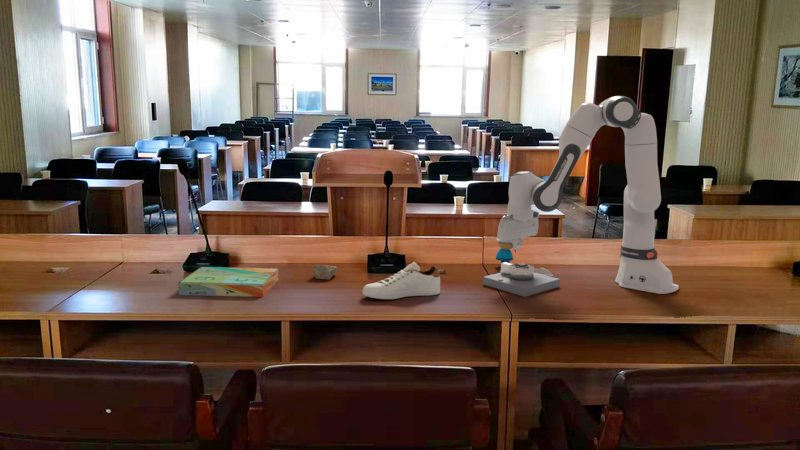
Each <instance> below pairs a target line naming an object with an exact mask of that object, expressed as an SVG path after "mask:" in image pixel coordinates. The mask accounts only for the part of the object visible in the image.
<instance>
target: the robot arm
mask: <svg viewBox="0 0 800 450" xmlns="http://www.w3.org/2000/svg"><path fill="white" fill-rule="evenodd" d="M603 126H607V127H612V128H621V129H622V131H623V134H624V160H625V162H624V163H625V164H624V165H625V172H626V179H627V180H626V181H627V185H626V186H625V188H624V190H623V231H622V243H621V244H622V245H620V252H619V253H620V261H619V262H620V263H619V267H618V271H617V274H616V277H615V279H614V281H615V282H616V283H617V284H618V285H619V287H622V288H625V289H626V288H627V289H631V290H636V291H641V292H642V291H643V292H647V293H654V294H658V295H661V294H662V295H663V294H664V295H666V294H671V293H674V292H677V291H678V290H679V289H680V288H679V285H678V284H675V283H674V282H673V273H672V270H670V269H669V268H668V267H667V266H666V265H665V264H664V263H663V262H661V260H660V259H658V255H660V252H661V251H660V250H658V251H657V250H656V249H655V245H654V244H655V235H656V223H655V222H656V221H655V211H656V210H657V209H658V208H659V207H660V205H661V202H662V195H661V183H660V182H661V181H660V175H659V174H660V172H659V166H658V137H657V127H656V122H655V118H654V117H653V116H652V114H648V113H647V112H646V113H645V112H641V111H640V109H639V108H638V106H637V104H636V102H634V100H633V99H632V98H630V97H628V96H625V95H615V96H611V97H608V98H606V99H604V100H602V101H601V102H600V103H598V104H595V103H591V102H583V103H581V104H579V106H578V107H577V108H576V109H575V111H573V113H572V115H571V116H570V118H569V119H568V121H567V122H566V124H565V126H564V128H563V129H562V132H561V134H560V137H559V140H558V150H559V151H558V158H557V161H556V163H555V165H554V167H553V169H552V171H551V172H550V175H549V176H548V178H547V179H543V178H541V177H539V176H536V175H535V174H533V172H532V171H529V170H525V171H523V170H522V171H516V172H514V173H513V174H512V175H511V177H510V180H509V184H508V185H509V186H508V203H507V212H506V215H503V216H502V217H501V218H500V220H499V223H498V227H497V234H496V235H497V238H498V239H499V240H503V241H506V240H511V242H512V244H513V248H512V250H514V251H515V250H516V251H517V250H521V249H522V244H523V242H524V240H525V239H524V238H528V237H534V236H537V234H538V232H539V217H540V212H539V211H537V210H534V209H532V205H534V206H535V208H537V209H538V210H540V211H541V212H547V213H550V212H553V211H554V210H557V208H559V206H560V205H561V203H562V200H563V192H564V187H565V186H566V183H567V181H569V180H568V179H569V178H570V175H571V173H572V172H573V170H574V169H575V166H576V164H577V163H578V162H579V160H580V158H581V157H582V156H583V155H584V153H585V151H586V150H587V149H588V147H590V146H589V145H590V144H591V142H592V141H593V139H594V137H595V136H596V134H597V132H598V131H599V129H600V128H602V127H603Z"/></svg>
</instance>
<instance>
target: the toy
mask: <svg viewBox="0 0 800 450" xmlns="http://www.w3.org/2000/svg"><path fill="white" fill-rule="evenodd" d="M495 241H497V242H498V246H499V248H500V249H499V250H498V251H497V253H496V255H495V256H496V257H495V260H497V261H500V264H501V263H503V262H507V263H510V262H512V261H514V256H513V253H512V249H513V244H512V242H511V240H506V241H503V240H499V239H498V237H497V238H496V239H495ZM516 251H517V250H514V252H515V253H516Z"/></svg>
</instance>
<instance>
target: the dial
mask: <svg viewBox="0 0 800 450" xmlns="http://www.w3.org/2000/svg"><path fill="white" fill-rule="evenodd" d="M500 271H501V272H504V273H508V274H509V277H510V278H512V279H516V280H531V279H533V278H534V273H535V266H534V265H532V264H529V263H522V262H521V263H507V262H503V263H501V262H500Z"/></svg>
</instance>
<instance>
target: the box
mask: <svg viewBox="0 0 800 450" xmlns="http://www.w3.org/2000/svg"><path fill="white" fill-rule="evenodd" d="M278 281H279V269H278V268H271V267H270V268H268V267H267V268H266V267H223V266H220V267H219V266H216V267H215V266H200V267H199V268H196V269H195V270H194V271H193V272H191V273H190V274H188V275H187V276H185V277H184V278H183V279H181V280H179V282H178V283H177V284H178V295H179V296H205V297H207V296H212V297H248V298H249V297H253V298H255V297H256V298H263V297H265V295H266V294H267V293H268V292H269V291H270V290H271V289H272V288H273V286H275V284H276V283H277V282H278Z"/></svg>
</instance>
